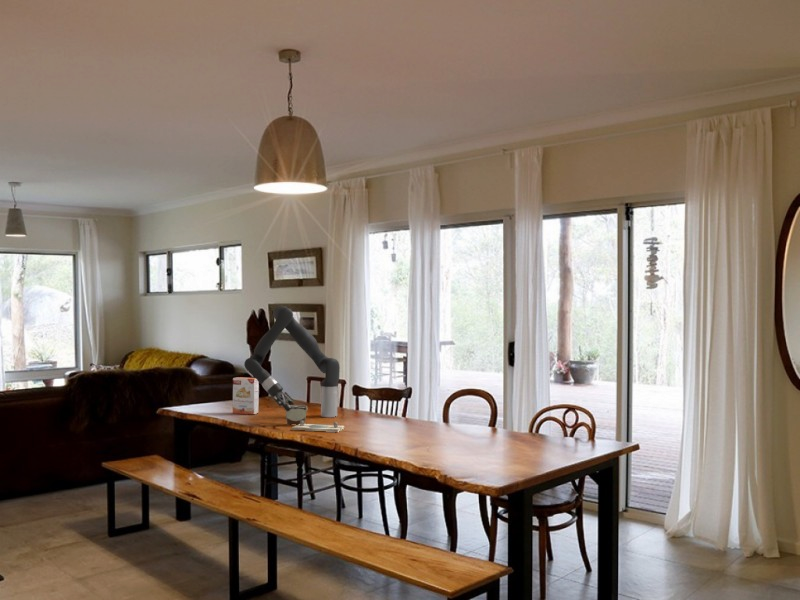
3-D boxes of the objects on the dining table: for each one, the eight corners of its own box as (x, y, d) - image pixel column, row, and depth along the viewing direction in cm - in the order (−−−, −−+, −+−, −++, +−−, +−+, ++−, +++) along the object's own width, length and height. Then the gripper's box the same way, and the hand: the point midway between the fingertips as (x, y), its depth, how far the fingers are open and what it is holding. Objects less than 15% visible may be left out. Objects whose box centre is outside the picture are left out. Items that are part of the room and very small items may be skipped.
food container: (309, 423, 364) (310, 404, 364) (307, 425, 357) (307, 406, 358) (287, 423, 365) (287, 404, 365) (284, 425, 359) (284, 406, 359)
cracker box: (232, 413, 395) (232, 377, 396) (237, 412, 401) (237, 376, 402) (253, 415, 391) (254, 378, 392) (258, 413, 397) (259, 377, 397)
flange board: (300, 426, 354) (300, 418, 354) (344, 428, 349) (344, 420, 349) (291, 430, 343) (292, 422, 343) (337, 432, 338) (337, 424, 338)
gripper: (271, 383, 357) (292, 406, 354) (282, 380, 371) (301, 402, 368) (262, 393, 358) (282, 416, 355) (272, 390, 372) (292, 412, 369)
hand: (292, 409), depth 362 cm, fingers open, 8 cm apart
